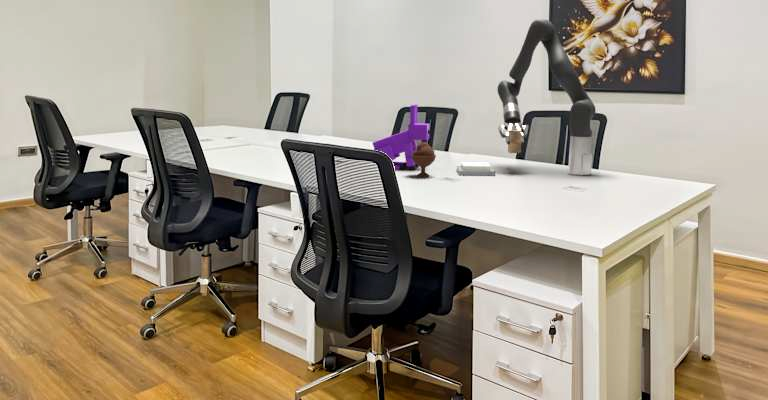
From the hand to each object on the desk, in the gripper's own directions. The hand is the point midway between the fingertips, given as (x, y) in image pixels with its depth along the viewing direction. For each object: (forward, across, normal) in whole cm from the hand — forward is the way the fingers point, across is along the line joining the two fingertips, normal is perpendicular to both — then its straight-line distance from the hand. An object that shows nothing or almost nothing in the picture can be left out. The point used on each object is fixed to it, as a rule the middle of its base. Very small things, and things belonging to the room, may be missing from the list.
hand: (515, 143), depth 288 cm
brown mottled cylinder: (+2, 0, +4) cm, 5 cm away
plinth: (+9, -18, +11) cm, 22 cm away
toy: (-1, -52, +20) cm, 56 cm away
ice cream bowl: (+16, -42, +3) cm, 45 cm away
